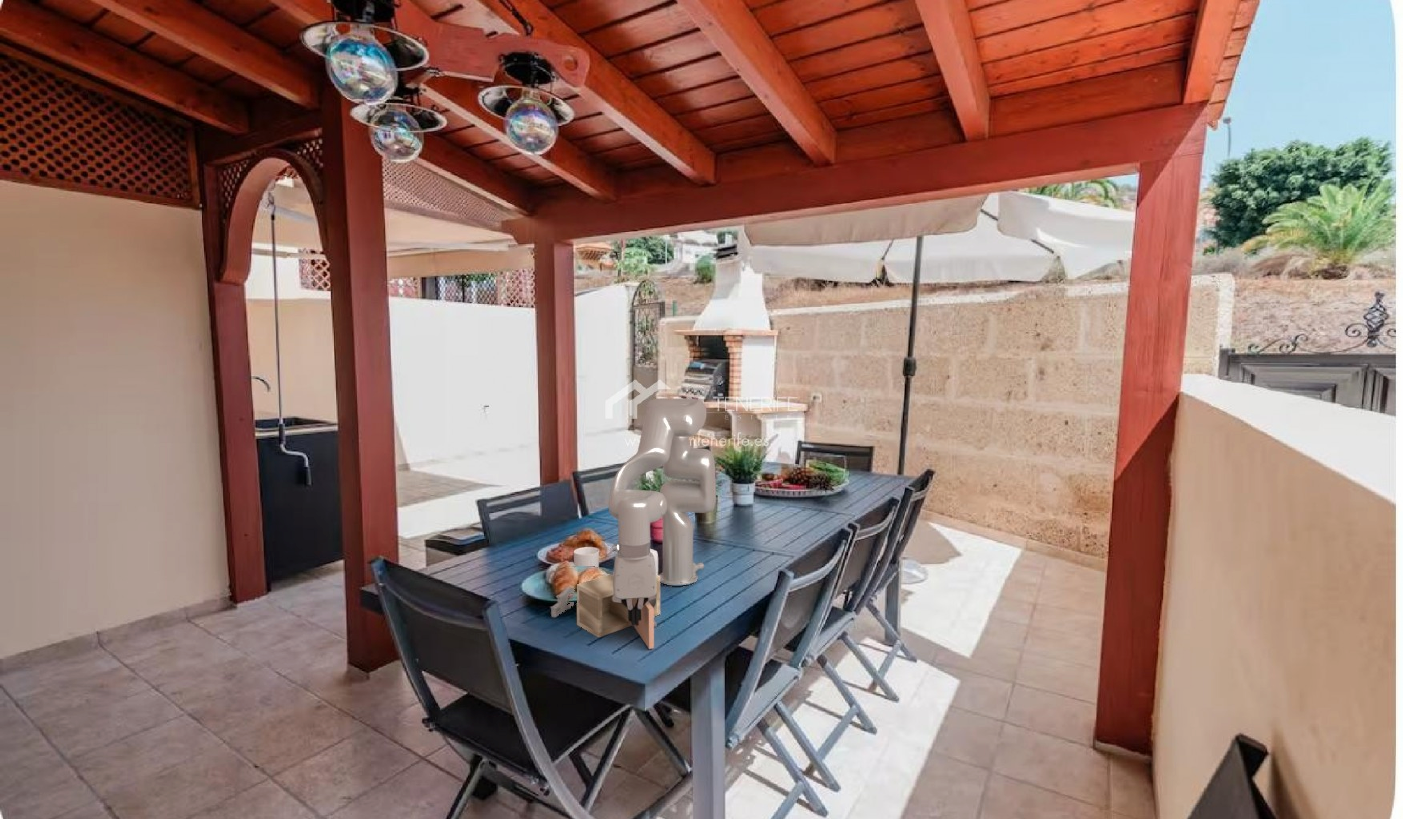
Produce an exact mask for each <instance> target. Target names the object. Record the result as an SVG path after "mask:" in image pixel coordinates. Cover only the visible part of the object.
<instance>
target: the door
mask: <svg viewBox="0 0 1403 819" xmlns="http://www.w3.org/2000/svg"><path fill="white" fill-rule="evenodd" d="M636 602H637V599H632V603H633V605H634V606H635V604H636ZM633 627H634V629H635V630H636V632H637V633H638V634H639V636H640V637H641V639H642V640H643V642H644V644H645V645H646V646H647V648H648V649H649V650H651V649H654V648H655V628H657V627H658V623H657V621H656V620H655V617H654V608H653V607H652V606H651V604H650V603H649V602H648V601H647V602H646V603H645V605H644V606H643V607H642V609H641V620H639V625H638V626H636V625H634V626H633Z"/></svg>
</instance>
